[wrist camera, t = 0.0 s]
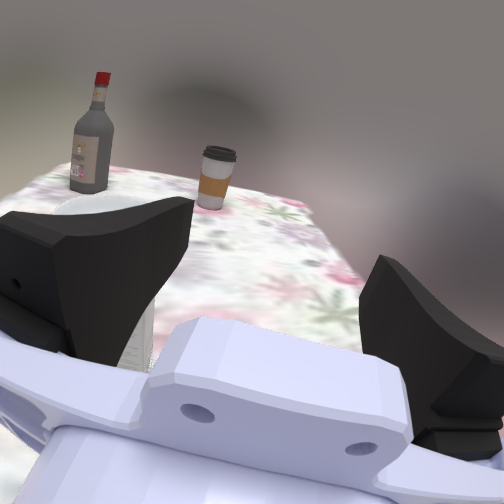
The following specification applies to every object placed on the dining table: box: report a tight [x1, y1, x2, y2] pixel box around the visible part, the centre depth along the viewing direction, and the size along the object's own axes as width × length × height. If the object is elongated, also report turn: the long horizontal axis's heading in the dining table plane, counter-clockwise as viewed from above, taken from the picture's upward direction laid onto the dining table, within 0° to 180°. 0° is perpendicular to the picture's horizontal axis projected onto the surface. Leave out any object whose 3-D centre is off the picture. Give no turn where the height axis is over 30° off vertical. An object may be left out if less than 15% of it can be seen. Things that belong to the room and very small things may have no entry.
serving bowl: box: [51, 194, 150, 215], centre depth 48 cm, size 21×21×7 cm
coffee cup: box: [197, 146, 236, 210], centre depth 77 cm, size 8×8×15 cm
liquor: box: [70, 72, 114, 194], centre depth 66 cm, size 9×9×30 cm
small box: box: [117, 297, 155, 373], centre depth 28 cm, size 8×6×10 cm
